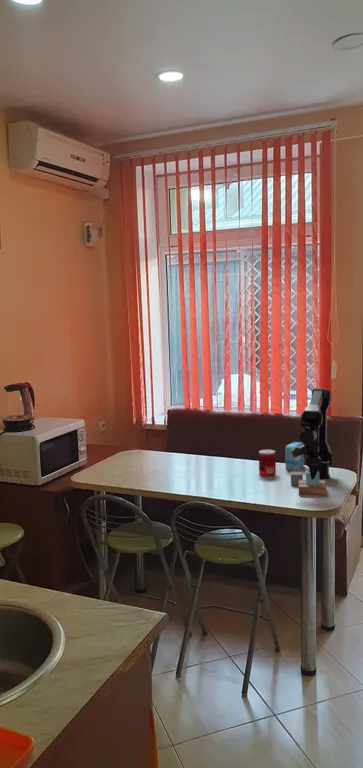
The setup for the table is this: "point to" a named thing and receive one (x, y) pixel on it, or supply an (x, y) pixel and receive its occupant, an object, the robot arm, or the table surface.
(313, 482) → the teal cube
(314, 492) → the walnut base block
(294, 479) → the gray cube
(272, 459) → the canned food
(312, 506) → the table surface
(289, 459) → the data package
